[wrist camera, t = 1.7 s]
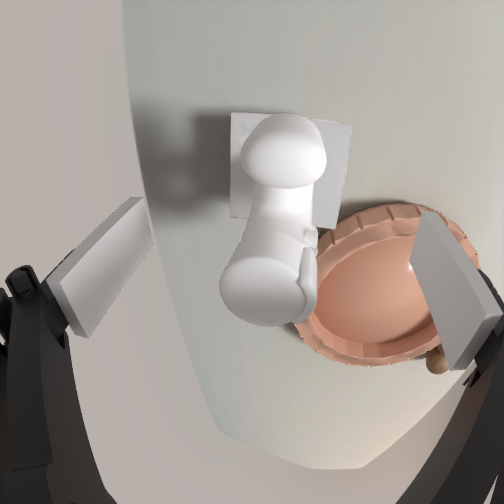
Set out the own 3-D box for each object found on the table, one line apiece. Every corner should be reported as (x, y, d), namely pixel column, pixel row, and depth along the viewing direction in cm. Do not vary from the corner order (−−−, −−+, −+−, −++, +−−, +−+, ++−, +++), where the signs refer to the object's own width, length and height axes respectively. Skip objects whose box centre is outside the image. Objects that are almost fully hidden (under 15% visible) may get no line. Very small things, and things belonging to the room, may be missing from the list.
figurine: (239, 208, 24) (176, 366, 12) (242, 91, 19) (130, 136, 6) (329, 218, 23) (344, 389, 11) (346, 101, 18) (436, 167, 6)
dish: (298, 190, 22) (298, 206, 20) (493, 212, 20) (508, 228, 17) (288, 344, 33) (286, 364, 31) (433, 346, 30) (438, 364, 28)
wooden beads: (440, 319, 28) (449, 344, 25) (482, 318, 27) (492, 340, 24) (419, 357, 32) (424, 380, 29) (459, 355, 31) (465, 376, 28)
